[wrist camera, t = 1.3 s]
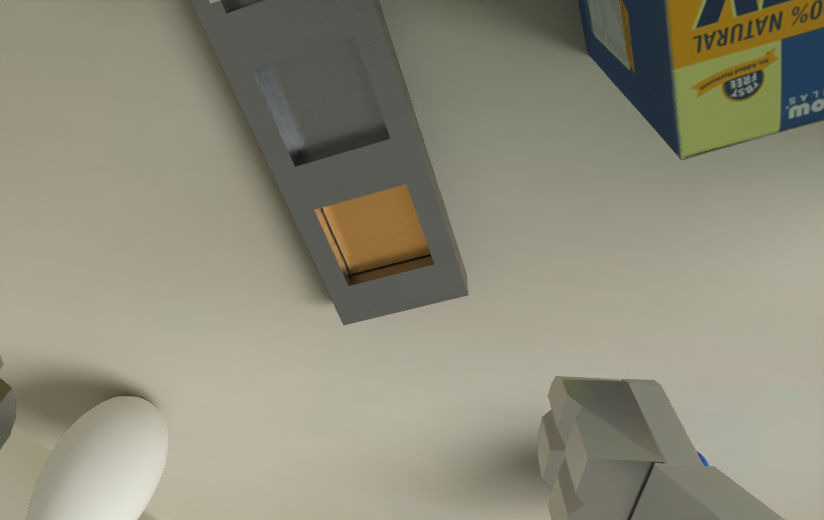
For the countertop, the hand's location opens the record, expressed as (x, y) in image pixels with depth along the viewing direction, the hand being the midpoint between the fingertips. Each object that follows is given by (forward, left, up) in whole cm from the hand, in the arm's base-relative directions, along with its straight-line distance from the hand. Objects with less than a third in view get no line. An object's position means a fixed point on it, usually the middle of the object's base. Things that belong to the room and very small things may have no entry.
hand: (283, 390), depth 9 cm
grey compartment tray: (+5, +3, -29) cm, 30 cm away
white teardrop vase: (+30, +23, -30) cm, 48 cm away
